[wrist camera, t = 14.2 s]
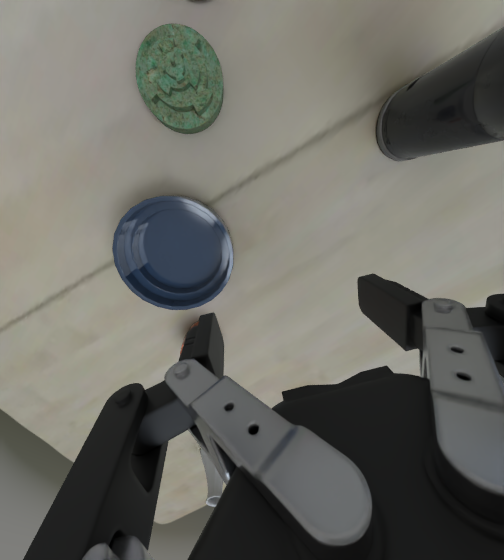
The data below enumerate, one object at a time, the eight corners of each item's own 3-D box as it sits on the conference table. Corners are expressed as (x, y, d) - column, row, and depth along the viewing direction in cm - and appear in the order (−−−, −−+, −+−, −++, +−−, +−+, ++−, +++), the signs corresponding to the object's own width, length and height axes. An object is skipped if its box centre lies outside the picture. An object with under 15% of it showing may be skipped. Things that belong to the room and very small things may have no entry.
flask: (214, 432, 51) (211, 484, 42) (239, 444, 54) (241, 497, 44) (194, 450, 53) (187, 505, 44) (219, 462, 55) (217, 517, 46)
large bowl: (217, 184, 34) (215, 182, 29) (242, 283, 40) (244, 295, 35) (109, 210, 34) (90, 212, 29) (151, 306, 40) (140, 320, 35)
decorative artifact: (234, 66, 29) (155, 19, 27) (236, 29, 23) (133, -36, 21) (207, 147, 32) (134, 111, 30) (202, 135, 26) (108, 88, 24)
